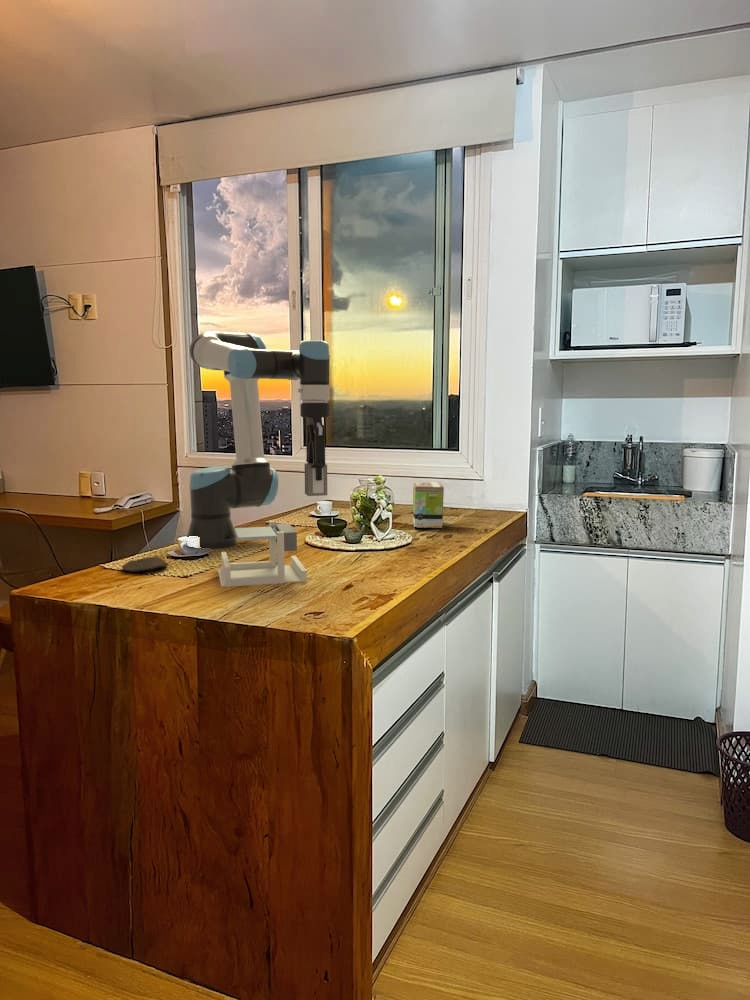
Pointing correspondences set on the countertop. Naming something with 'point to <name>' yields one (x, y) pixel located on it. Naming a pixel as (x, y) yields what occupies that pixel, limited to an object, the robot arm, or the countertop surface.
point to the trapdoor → (269, 535)
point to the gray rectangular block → (310, 480)
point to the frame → (263, 567)
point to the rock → (145, 564)
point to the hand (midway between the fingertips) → (315, 491)
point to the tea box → (428, 504)
